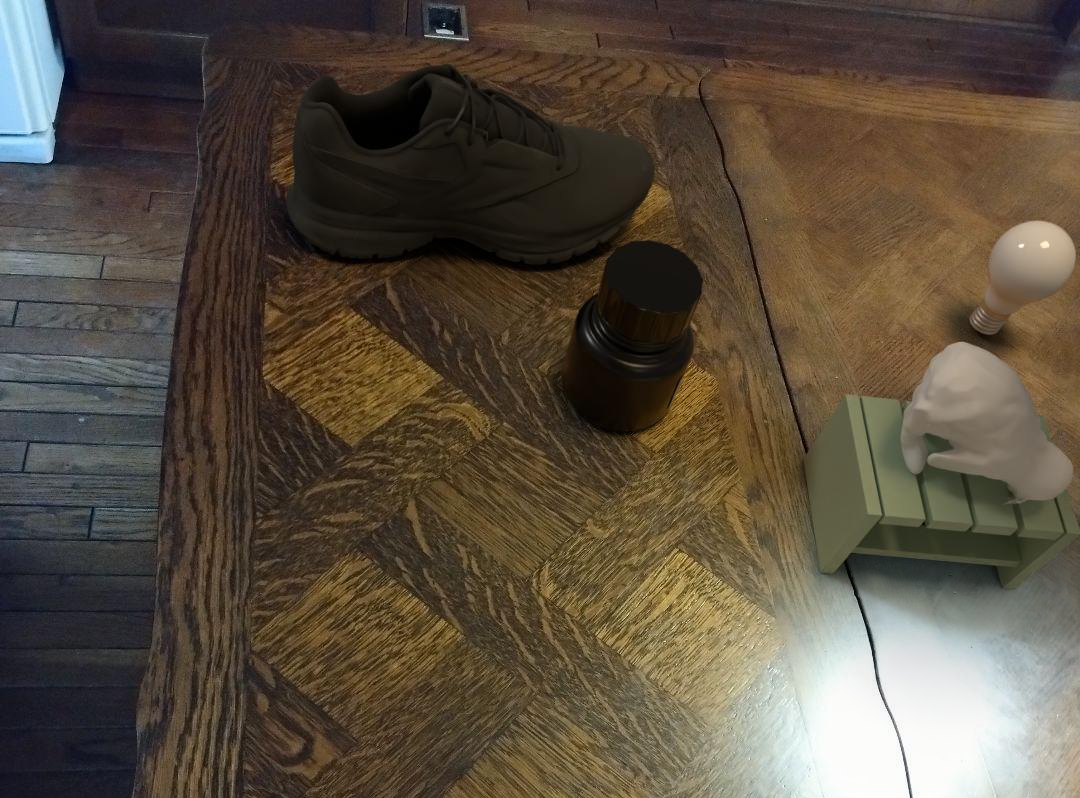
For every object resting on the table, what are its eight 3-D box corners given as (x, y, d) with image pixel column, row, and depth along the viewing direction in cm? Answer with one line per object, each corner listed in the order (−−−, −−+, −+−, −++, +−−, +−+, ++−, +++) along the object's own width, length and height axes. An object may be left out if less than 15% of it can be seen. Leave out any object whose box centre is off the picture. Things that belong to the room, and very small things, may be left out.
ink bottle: (696, 415, 76) (747, 306, 66) (602, 454, 73) (640, 346, 63) (628, 328, 80) (667, 212, 70) (536, 361, 77) (562, 244, 67)
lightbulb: (1003, 368, 84) (1082, 273, 75) (935, 331, 85) (1005, 234, 76) (1023, 325, 87) (1102, 229, 78) (958, 290, 88) (1028, 191, 79)
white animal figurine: (965, 311, 62) (1133, 409, 61) (892, 390, 69) (1041, 479, 69) (938, 374, 59) (1115, 479, 58) (865, 450, 66) (1021, 544, 66)
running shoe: (657, 263, 84) (703, 125, 73) (300, 290, 77) (287, 142, 65) (619, 172, 90) (656, 30, 78) (281, 190, 82) (267, 36, 71)
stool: (984, 477, 78) (1044, 415, 71) (1014, 589, 73) (1081, 534, 66) (802, 459, 76) (845, 393, 69) (820, 573, 71) (868, 514, 64)
